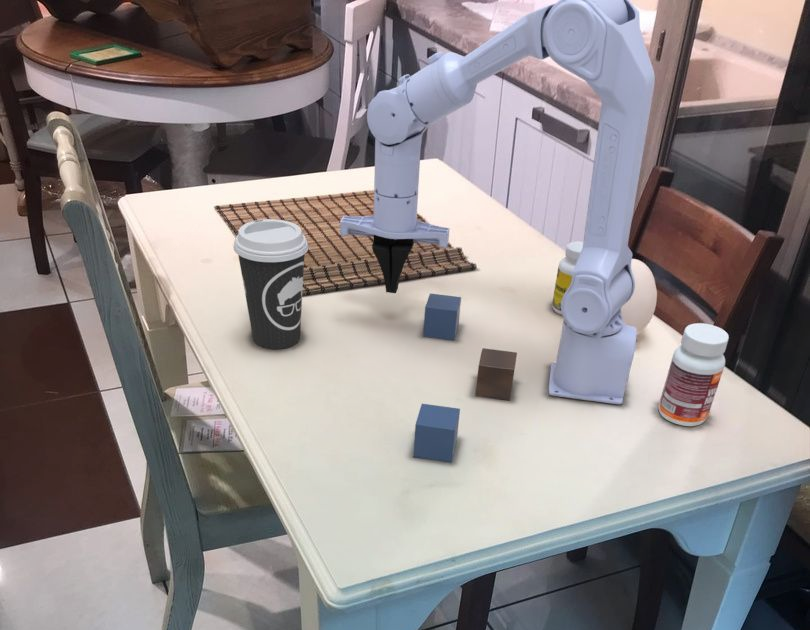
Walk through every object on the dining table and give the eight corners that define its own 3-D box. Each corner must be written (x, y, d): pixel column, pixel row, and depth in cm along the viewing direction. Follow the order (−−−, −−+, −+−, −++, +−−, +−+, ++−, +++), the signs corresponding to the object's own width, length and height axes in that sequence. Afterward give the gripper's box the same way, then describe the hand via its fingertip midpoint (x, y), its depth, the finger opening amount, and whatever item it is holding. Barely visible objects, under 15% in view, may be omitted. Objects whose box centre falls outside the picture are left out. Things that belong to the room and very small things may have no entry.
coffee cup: (308, 320, 120) (304, 216, 110) (314, 353, 113) (311, 244, 103) (240, 323, 119) (231, 217, 109) (242, 356, 112) (232, 246, 102)
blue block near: (456, 440, 99) (460, 408, 96) (451, 462, 96) (455, 429, 93) (419, 435, 100) (421, 403, 97) (413, 457, 96) (415, 424, 93)
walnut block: (512, 382, 110) (517, 352, 107) (509, 400, 106) (514, 369, 103) (478, 378, 110) (482, 347, 107) (474, 396, 107) (478, 365, 104)
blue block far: (458, 326, 121) (461, 296, 118) (454, 340, 118) (457, 310, 115) (427, 322, 122) (430, 293, 119) (423, 336, 118) (425, 307, 115)
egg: (651, 353, 118) (672, 275, 110) (590, 349, 118) (607, 271, 110) (640, 324, 124) (659, 249, 117) (582, 321, 124) (598, 245, 116)
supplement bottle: (546, 302, 128) (557, 239, 122) (579, 300, 129) (592, 238, 123) (557, 318, 124) (569, 254, 118) (592, 317, 125) (605, 253, 119)
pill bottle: (707, 431, 103) (735, 349, 96) (657, 423, 104) (681, 341, 97) (705, 405, 108) (732, 325, 100) (657, 397, 109) (680, 317, 101)
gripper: (455, 186, 110) (447, 284, 119) (348, 174, 112) (348, 271, 121) (448, 205, 105) (440, 305, 114) (336, 192, 106) (336, 292, 115)
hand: (392, 289), depth 117 cm, fingers closed
